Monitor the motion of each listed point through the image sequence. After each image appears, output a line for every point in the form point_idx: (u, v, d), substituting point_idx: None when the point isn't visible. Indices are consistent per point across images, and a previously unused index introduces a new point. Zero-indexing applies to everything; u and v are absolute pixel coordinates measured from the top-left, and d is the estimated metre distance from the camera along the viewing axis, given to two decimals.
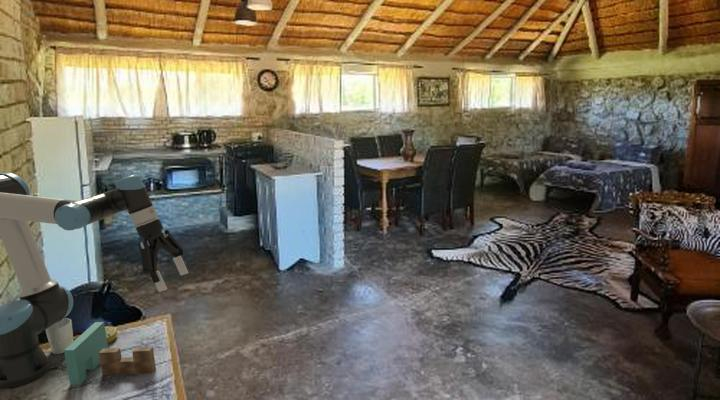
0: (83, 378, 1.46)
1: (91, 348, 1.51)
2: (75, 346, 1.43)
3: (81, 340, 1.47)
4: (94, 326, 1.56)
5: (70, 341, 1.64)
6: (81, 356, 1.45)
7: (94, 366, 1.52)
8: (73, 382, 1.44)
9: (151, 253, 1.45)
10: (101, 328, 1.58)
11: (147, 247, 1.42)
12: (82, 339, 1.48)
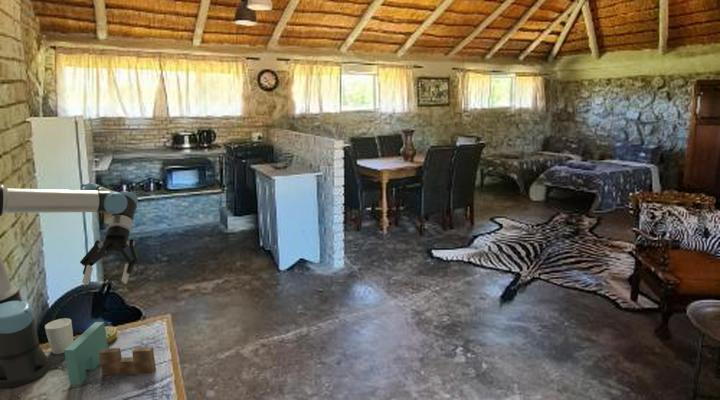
0: (83, 378, 1.46)
1: (91, 348, 1.51)
2: (75, 346, 1.43)
3: (81, 340, 1.47)
4: (94, 326, 1.56)
5: (70, 341, 1.64)
6: (81, 356, 1.45)
7: (94, 366, 1.52)
8: (73, 382, 1.44)
9: (125, 251, 1.69)
10: (101, 328, 1.58)
11: None
12: (82, 339, 1.48)
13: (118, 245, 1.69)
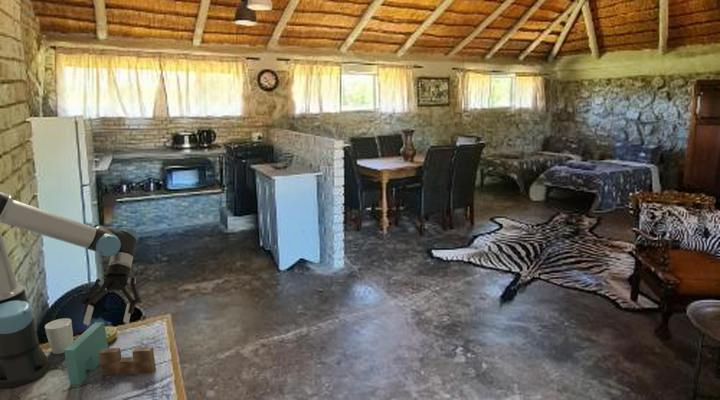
0: (83, 378, 1.46)
1: (91, 348, 1.51)
2: (75, 346, 1.43)
3: (81, 340, 1.47)
4: (94, 326, 1.56)
5: (70, 341, 1.64)
6: (81, 356, 1.45)
7: (94, 366, 1.52)
8: (73, 382, 1.44)
9: (126, 290, 1.67)
10: (101, 328, 1.58)
11: None
12: (82, 339, 1.48)
13: (119, 284, 1.67)
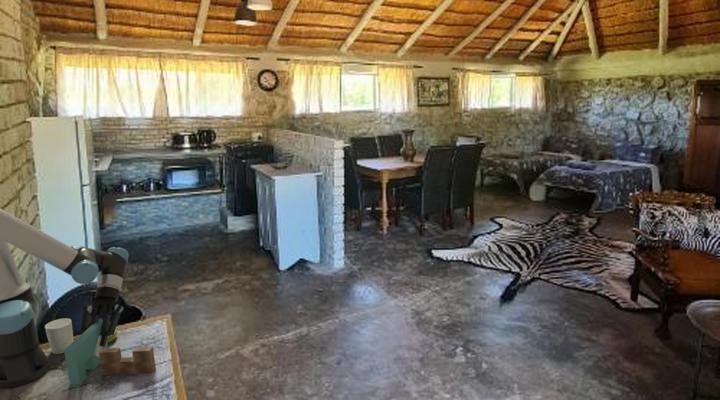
0: (83, 378, 1.46)
1: (91, 348, 1.51)
2: (75, 346, 1.43)
3: (81, 340, 1.47)
4: (94, 326, 1.56)
5: (70, 341, 1.64)
6: (81, 356, 1.45)
7: (94, 366, 1.52)
8: (73, 382, 1.44)
9: (108, 318, 1.60)
10: (101, 328, 1.58)
11: None
12: (82, 339, 1.48)
13: (105, 309, 1.60)
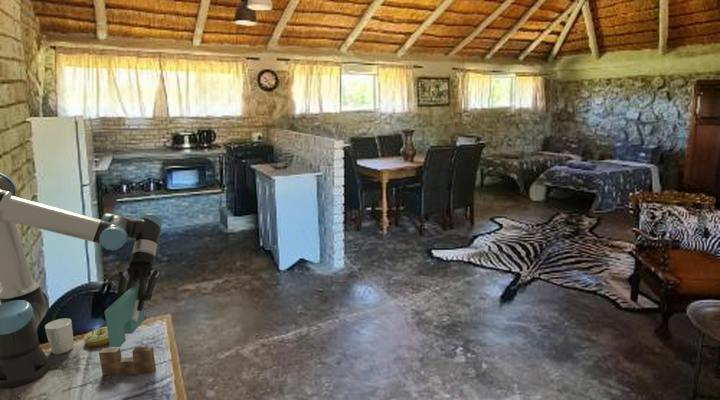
0: (123, 340, 1.44)
1: (129, 312, 1.49)
2: (115, 307, 1.41)
3: (120, 302, 1.45)
4: (131, 290, 1.54)
5: (70, 341, 1.64)
6: (121, 318, 1.43)
7: (132, 330, 1.50)
8: (113, 344, 1.41)
9: (144, 283, 1.58)
10: (138, 292, 1.55)
11: None
12: (121, 301, 1.45)
13: (141, 274, 1.58)
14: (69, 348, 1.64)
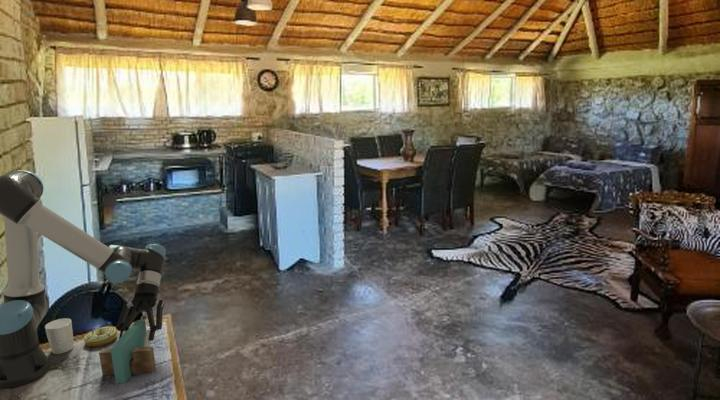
0: (128, 376, 1.46)
1: (134, 346, 1.51)
2: (121, 344, 1.44)
3: (126, 338, 1.47)
4: (136, 324, 1.56)
5: (70, 341, 1.64)
6: (126, 354, 1.46)
7: None
8: (119, 380, 1.44)
9: (151, 313, 1.60)
10: (143, 326, 1.58)
11: None
12: (127, 337, 1.48)
13: (146, 305, 1.60)
14: (69, 348, 1.64)
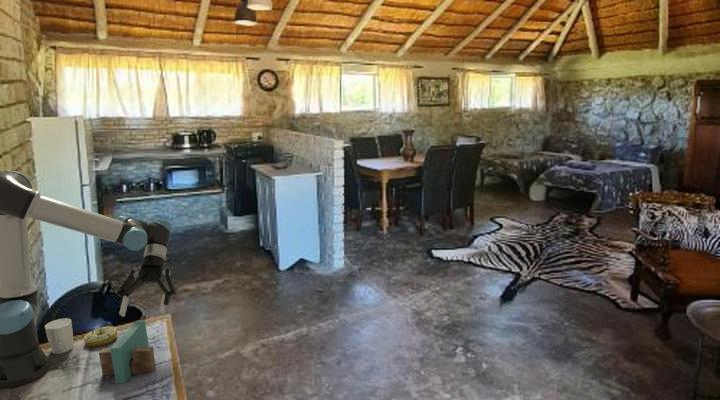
0: (128, 376, 1.46)
1: (134, 346, 1.51)
2: (121, 344, 1.44)
3: (126, 338, 1.47)
4: (136, 324, 1.56)
5: (70, 341, 1.64)
6: (126, 354, 1.46)
7: None
8: (119, 380, 1.44)
9: (161, 281, 1.67)
10: (143, 326, 1.58)
11: None
12: (126, 337, 1.48)
13: (154, 275, 1.66)
14: (69, 348, 1.64)
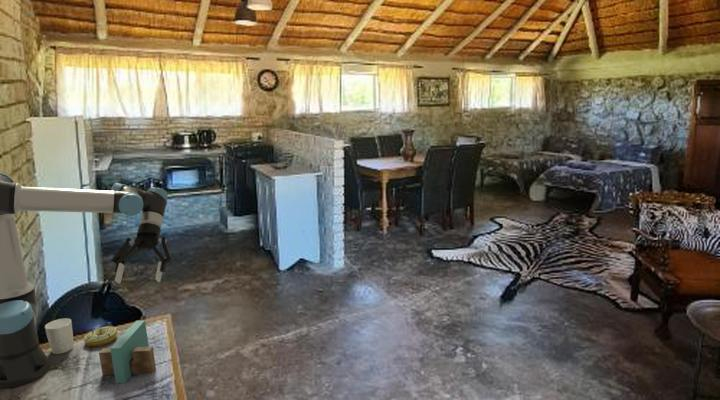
0: (128, 376, 1.46)
1: (134, 346, 1.51)
2: (121, 344, 1.44)
3: (126, 338, 1.47)
4: (136, 324, 1.56)
5: (70, 341, 1.64)
6: (126, 354, 1.46)
7: None
8: (119, 380, 1.44)
9: (157, 249, 1.64)
10: (143, 326, 1.58)
11: None
12: (126, 337, 1.48)
13: (150, 243, 1.64)
14: (69, 348, 1.64)
